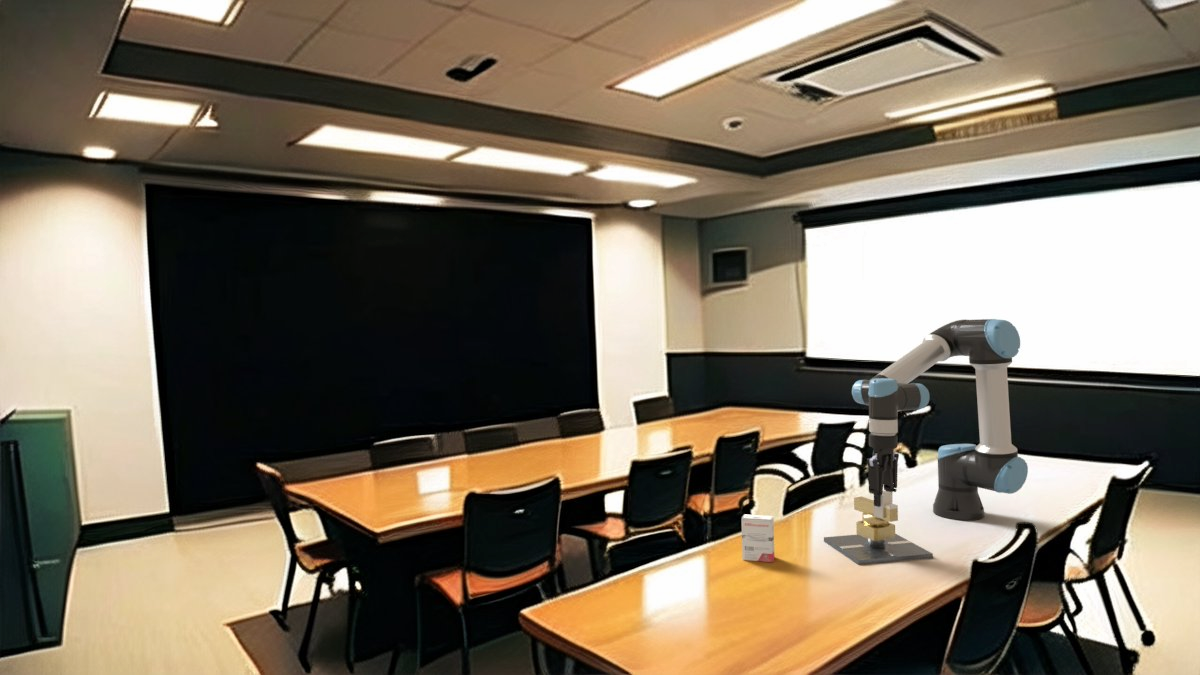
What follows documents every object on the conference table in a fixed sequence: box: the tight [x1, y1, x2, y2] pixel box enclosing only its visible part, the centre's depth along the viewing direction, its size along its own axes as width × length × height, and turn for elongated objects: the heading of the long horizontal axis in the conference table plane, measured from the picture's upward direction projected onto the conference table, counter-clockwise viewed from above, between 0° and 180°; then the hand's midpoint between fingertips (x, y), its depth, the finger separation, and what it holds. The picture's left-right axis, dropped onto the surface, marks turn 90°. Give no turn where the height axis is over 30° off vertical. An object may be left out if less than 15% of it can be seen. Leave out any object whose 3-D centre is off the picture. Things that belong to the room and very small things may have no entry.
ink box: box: [741, 513, 775, 563], centre depth 195 cm, size 9×5×12 cm, turn 71°
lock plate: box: [823, 527, 934, 566], centre depth 199 cm, size 22×20×7 cm
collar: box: [853, 495, 899, 541], centre depth 199 cm, size 8×14×10 cm, turn 22°
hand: (883, 515), depth 196 cm, fingers closed on collar, 4 cm apart
